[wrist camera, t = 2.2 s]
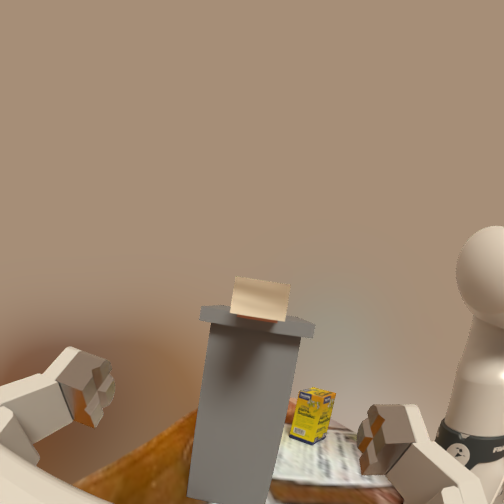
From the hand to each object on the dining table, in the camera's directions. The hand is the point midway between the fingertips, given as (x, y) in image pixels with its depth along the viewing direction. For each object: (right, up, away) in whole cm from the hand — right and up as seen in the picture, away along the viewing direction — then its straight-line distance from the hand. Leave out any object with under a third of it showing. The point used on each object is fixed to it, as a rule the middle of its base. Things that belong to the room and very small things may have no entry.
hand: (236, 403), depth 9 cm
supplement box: (+12, -35, +48) cm, 61 cm away
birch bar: (+1, -3, +27) cm, 27 cm away
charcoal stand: (-3, -29, +29) cm, 41 cm away
